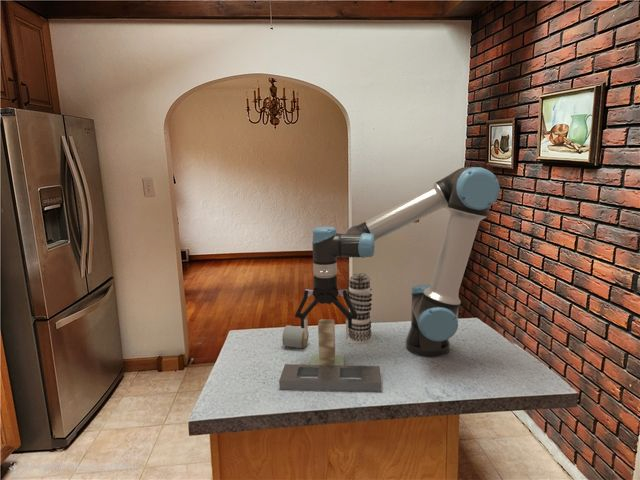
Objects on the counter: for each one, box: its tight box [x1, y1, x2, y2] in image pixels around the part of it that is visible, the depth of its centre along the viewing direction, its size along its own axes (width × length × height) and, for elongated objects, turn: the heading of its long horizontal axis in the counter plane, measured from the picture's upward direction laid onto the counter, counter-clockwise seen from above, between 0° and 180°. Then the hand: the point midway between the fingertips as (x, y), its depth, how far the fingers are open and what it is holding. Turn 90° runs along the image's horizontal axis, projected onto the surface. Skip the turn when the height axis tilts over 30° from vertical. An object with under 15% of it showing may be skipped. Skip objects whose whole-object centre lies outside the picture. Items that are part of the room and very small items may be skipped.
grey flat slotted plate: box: [278, 363, 383, 393], centre depth 127 cm, size 30×10×3 cm, turn 85°
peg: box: [317, 318, 336, 365], centre depth 137 cm, size 5×5×14 cm
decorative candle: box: [347, 272, 373, 344], centre depth 155 cm, size 9×9×25 cm
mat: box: [309, 353, 345, 365], centre depth 139 cm, size 11×11×1 cm
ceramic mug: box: [281, 324, 310, 349], centre depth 153 cm, size 11×8×8 cm
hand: (326, 337), depth 137 cm, fingers open, 13 cm apart
